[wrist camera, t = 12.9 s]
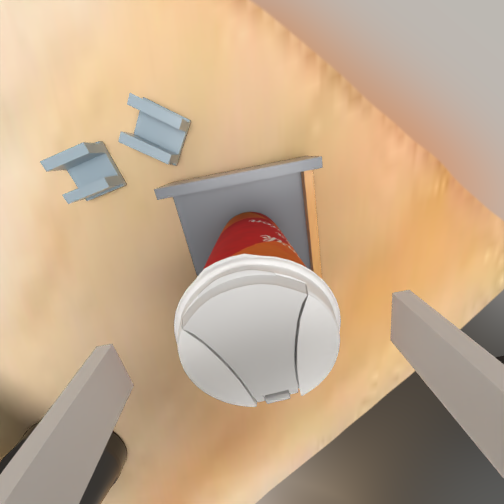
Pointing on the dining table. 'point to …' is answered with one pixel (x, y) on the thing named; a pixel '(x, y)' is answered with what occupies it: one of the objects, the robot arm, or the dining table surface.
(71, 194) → the clip
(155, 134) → the clip
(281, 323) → the coffee cup
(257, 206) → the end holder
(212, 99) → the dining table surface
